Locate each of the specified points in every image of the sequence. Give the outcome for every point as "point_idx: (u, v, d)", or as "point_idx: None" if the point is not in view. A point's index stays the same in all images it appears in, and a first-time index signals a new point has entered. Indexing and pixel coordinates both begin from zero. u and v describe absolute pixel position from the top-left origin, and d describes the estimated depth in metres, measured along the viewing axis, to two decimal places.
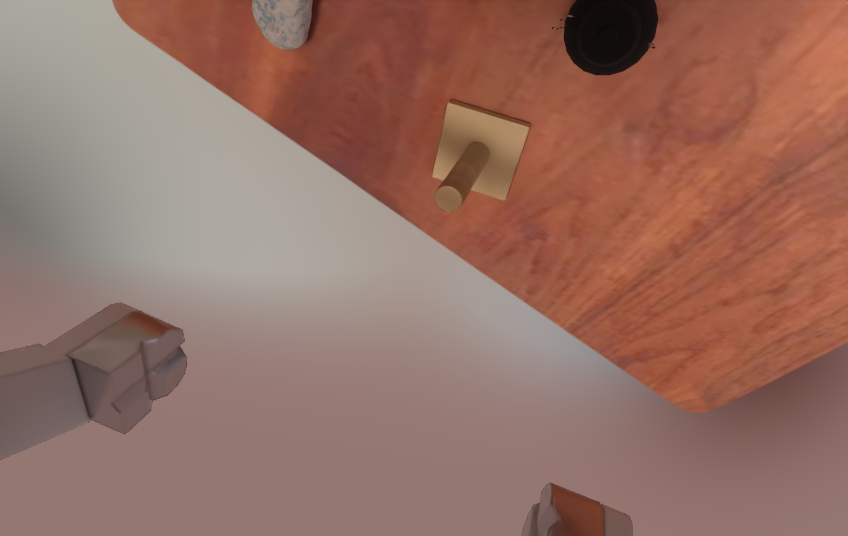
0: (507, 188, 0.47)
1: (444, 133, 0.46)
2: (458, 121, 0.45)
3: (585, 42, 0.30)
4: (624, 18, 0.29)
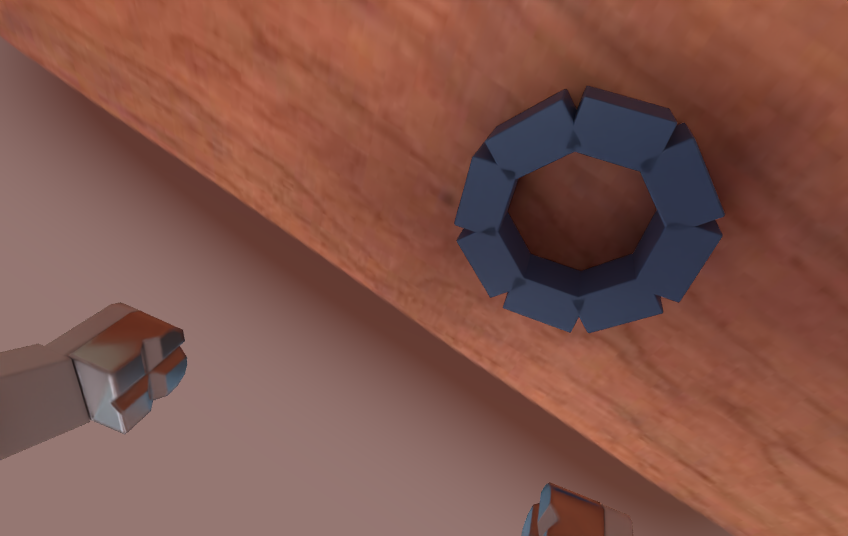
0: None
1: None
2: None
3: None
4: None
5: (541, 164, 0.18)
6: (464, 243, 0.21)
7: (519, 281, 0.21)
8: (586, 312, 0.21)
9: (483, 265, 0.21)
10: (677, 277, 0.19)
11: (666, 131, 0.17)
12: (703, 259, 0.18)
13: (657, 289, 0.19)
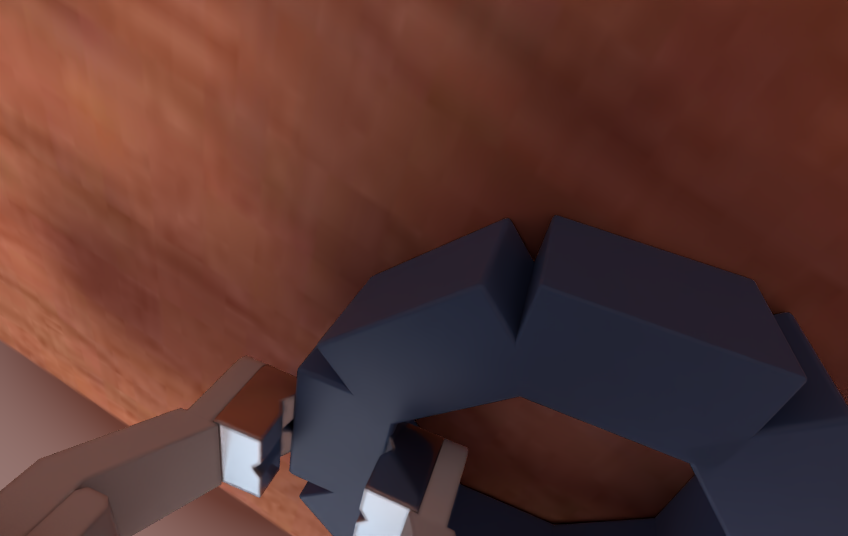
0: None
1: None
2: None
3: None
4: None
5: (445, 408, 0.08)
6: (314, 504, 0.10)
7: None
8: None
9: None
10: None
11: (772, 395, 0.06)
12: None
13: None
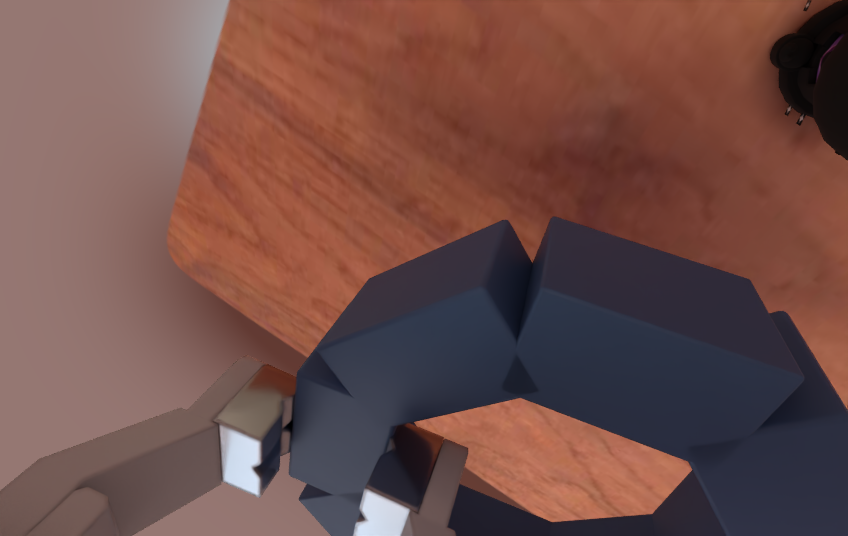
0: None
1: None
2: None
3: None
4: None
5: (446, 410, 0.08)
6: (313, 506, 0.10)
7: None
8: None
9: None
10: None
11: (770, 394, 0.06)
12: None
13: None
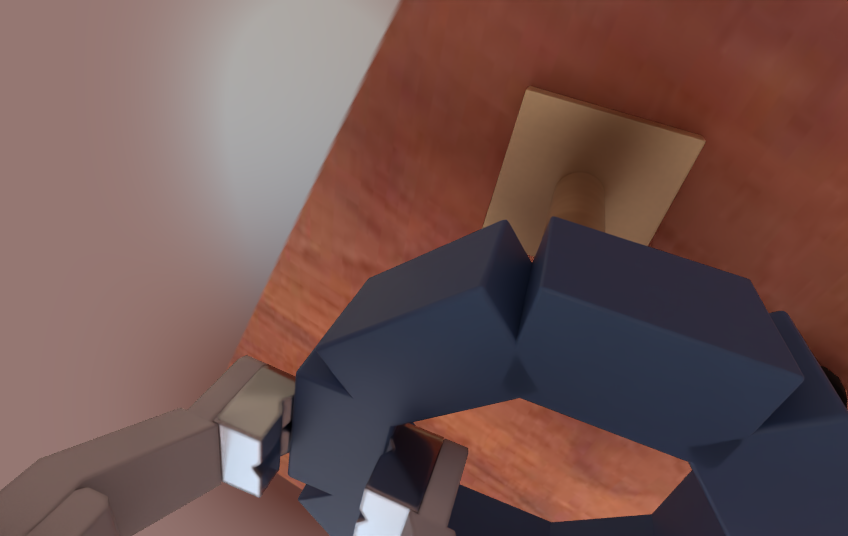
0: None
1: (632, 127, 0.21)
2: (657, 162, 0.21)
3: None
4: None
5: (445, 410, 0.08)
6: (313, 506, 0.10)
7: None
8: None
9: None
10: None
11: (770, 394, 0.06)
12: None
13: None
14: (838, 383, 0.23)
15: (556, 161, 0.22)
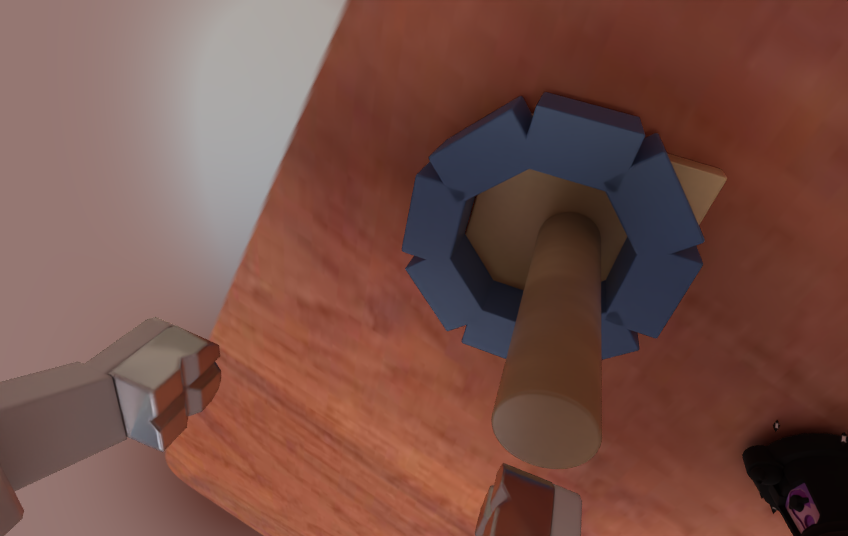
0: None
1: None
2: None
3: None
4: None
5: (493, 183, 0.16)
6: (414, 271, 0.19)
7: (477, 313, 0.19)
8: None
9: (436, 296, 0.19)
10: (653, 310, 0.16)
11: (633, 145, 0.14)
12: (682, 291, 0.16)
13: (631, 324, 0.17)
14: None
15: (541, 198, 0.18)
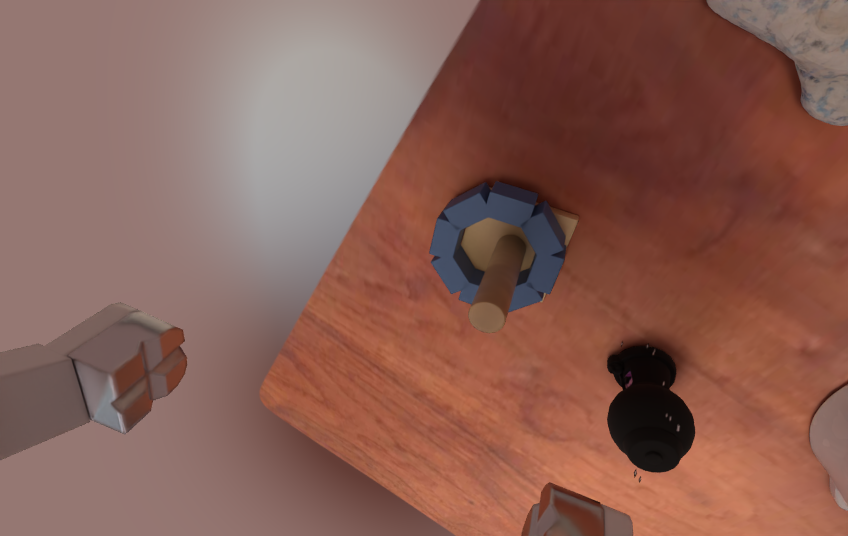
0: None
1: None
2: None
3: (652, 443, 0.32)
4: (666, 467, 0.33)
5: (472, 223, 0.35)
6: (435, 263, 0.38)
7: (466, 284, 0.38)
8: None
9: (446, 275, 0.38)
10: (546, 281, 0.36)
11: (530, 209, 0.33)
12: (557, 271, 0.35)
13: (537, 287, 0.36)
14: (669, 360, 0.38)
15: (497, 227, 0.37)
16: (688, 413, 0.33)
